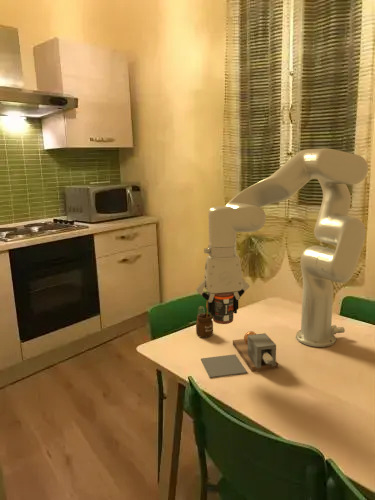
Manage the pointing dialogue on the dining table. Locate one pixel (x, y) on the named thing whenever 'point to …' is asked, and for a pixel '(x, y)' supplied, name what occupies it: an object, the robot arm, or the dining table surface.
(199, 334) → the utensil holder
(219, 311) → the supplement bottle
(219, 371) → the pad
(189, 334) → the dining table surface
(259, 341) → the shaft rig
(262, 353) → the shaft
